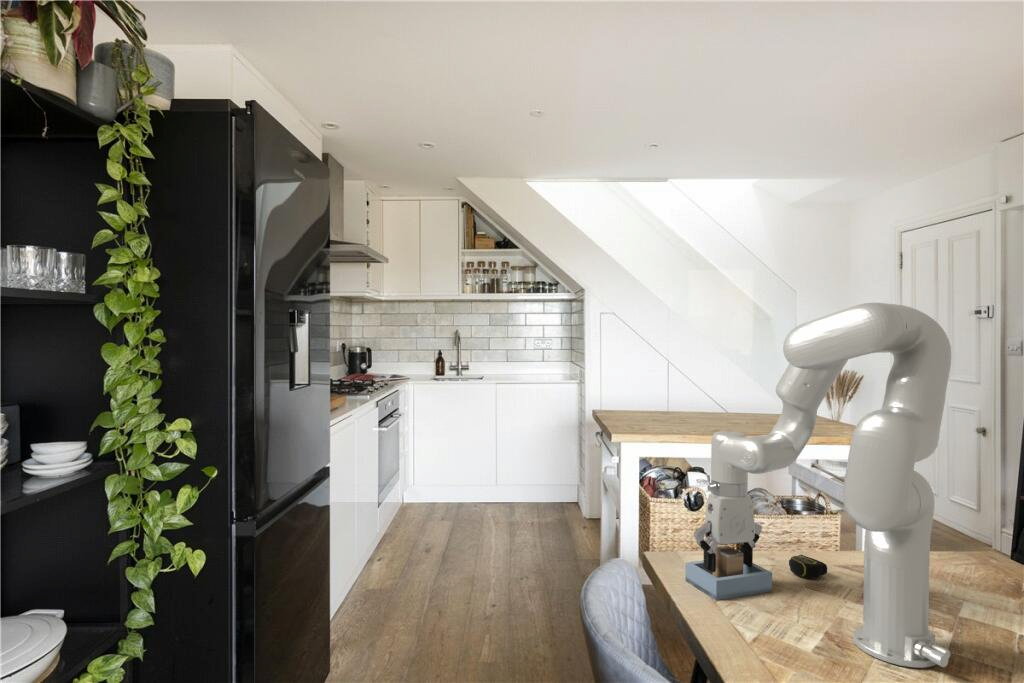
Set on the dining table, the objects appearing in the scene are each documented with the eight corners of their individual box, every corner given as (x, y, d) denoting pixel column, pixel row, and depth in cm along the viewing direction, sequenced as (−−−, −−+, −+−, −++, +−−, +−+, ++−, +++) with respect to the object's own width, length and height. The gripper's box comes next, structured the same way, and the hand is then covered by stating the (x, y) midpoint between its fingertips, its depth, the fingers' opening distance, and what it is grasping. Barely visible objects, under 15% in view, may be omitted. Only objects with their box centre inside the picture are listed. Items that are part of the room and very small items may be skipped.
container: (772, 591, 126) (772, 572, 126) (716, 600, 121) (716, 580, 121) (738, 573, 136) (738, 555, 136) (685, 580, 131) (685, 562, 131)
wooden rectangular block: (742, 585, 127) (743, 553, 127) (727, 588, 125) (728, 555, 125) (727, 576, 131) (727, 545, 131) (712, 579, 130) (712, 547, 130)
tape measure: (829, 578, 134) (829, 561, 134) (809, 583, 131) (809, 566, 131) (801, 568, 140) (802, 552, 140) (782, 572, 137) (782, 556, 137)
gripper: (707, 496, 122) (706, 578, 122) (773, 490, 128) (772, 568, 128) (685, 487, 129) (684, 565, 129) (749, 482, 135) (748, 556, 135)
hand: (728, 567), depth 128 cm, fingers open, 9 cm apart
